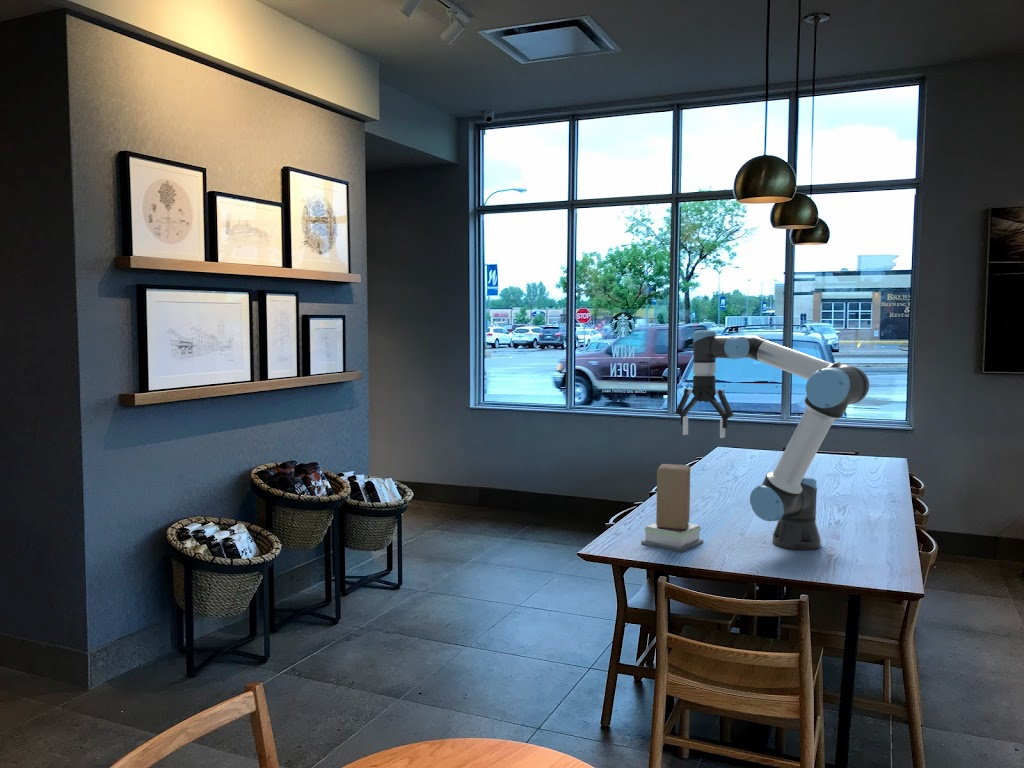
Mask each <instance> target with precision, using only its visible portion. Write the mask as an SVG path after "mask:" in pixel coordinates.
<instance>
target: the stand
mask: <svg viewBox="0 0 1024 768" xmlns="http://www.w3.org/2000/svg"><path fill="white" fill-rule="evenodd" d="M700 531H701V526H700V524H694V523H690V522H689V523H688V526H687V528H686V529H684V530H683V529H670V528H659V527H657V525H656V522H654V523H651V524H648V525H646V526H645V528H644V532H645V539H644V540H641V542H640V544H641V545H645V546H649V547H654V548H659V549H663V550H668V551H673V552H678V553H684V552H686V551H687V550H690V549H693V548H695V547H697V546H699V545H702V544H703V543H704V539H701V538H700Z"/></svg>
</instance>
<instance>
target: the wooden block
mask: <svg viewBox="0 0 1024 768" xmlns="http://www.w3.org/2000/svg"><path fill="white" fill-rule="evenodd" d="M690 496H691V467H690V465H688V464H676V463H675V464H672V463H661V464H660V465H659V467H658V468H657V470H656V520H655V521H656V522H655V523H656V525H657V527H659V528H670V529H683V530H684V529H686V528H687V526H688V523H690V511H691V510H690V509H691V508H690V506H691V505H690V504H691V503H690V501H691V500H690V499H691V497H690Z"/></svg>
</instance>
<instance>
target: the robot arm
mask: <svg viewBox="0 0 1024 768" xmlns="http://www.w3.org/2000/svg"><path fill="white" fill-rule="evenodd" d="M692 340H693V341H692V349H693V352H692V354H693V362H692V363H693V364H692V365H693V366H692V373H693V376H692V386H693V387H692V388H690V387H686V388H684V389H683V396H682V398H681V400H680V401H679V404H678V406H677V407H676V410H675V414H676V415H679V416H680V425H681V426H682V435H683V436H688V435H689V415H687V414H689V412H690V411H691V410H692V409H693V407H694V406H695V405H696V404H697V402H699V403H702V402H703V403H710V404H711V405H712V406H713V408H714V409H715V410H716V411H717V413H718V414H719V415H720V416H721V418H720V419H719V438H720V439H723V438H724V439H725V438H726V429H728V426H729V423H728V421H729V420H728V419H729V418H731V417H734V413H733V411H732V408H731V405H730V403H729V402H728V400H727V397H726V395H725V389H722V388H721V389H716V376H715V374H716V359H731V360H737V359H744V358H746V359H747V358H749V359H752V360H755V361H757V362H760V363H763V364H765V365H768V366H771V367H774V368H777V369H779V370H781V371H784V372H786V373H789V374H792V375H795V376H797V377H799V378H802V379H806V380H807V381H806V384H805V392H806V397H805V399H804V404H805V407H806V408H805V410H804V412H803V414H802V416H801V419H799V422H798V424H797V426H796V428H795V430H794V432H793V434H792V436H791V438H790V439H789V441H788V443H787V445H786V448H785V449H784V451H783V453H782V455H781V458H780V459H779V461H778V463H777V465H776V467H775V469H774V470H772V471H768V472H767V474H766V476H765V478H764V479H763V481H762V483H761V484H760V485H757V486H756V487H754V488H753V489H752V491H751V493H750V494H749V495H750V496H749V504H750V505H751V509H752V511H753V513H754V514H755V516H756V517H757V518H760V519H761V520H763V521H766V522H777V523H776V526H775V529H774V531H773V533H772V534H773V535H772V543H773V544H774V545H776V546H778V547H781V548H785V549H790V550H798V551H799V550H802V551H805V550H808V551H810V550H816V549H819V548H821V541H822V539H821V536H820V533H819V530H818V527H817V523H816V520H817V516H816V515H817V493H818V492H817V491H818V488H817V487H818V486H817V481H816V479H815V478H814V477H811V476H806V473H807V471H808V469H809V468H810V465H811V464H812V462H813V460H814V458H815V456H816V454H817V452H818V451H819V449H820V447H821V445H822V443H823V441H824V440H825V438H826V436H827V433H828V432H829V431H830V428H831V427H832V424H834V421H835V420H839V419H841V418H842V417H843V416H844V414H845V411H846V409H847V408H848V406H849V405H854V404H857V403H859V402H862V400H863V399H865V397H866V396H867V395H868V393H869V390H870V380H869V378H868V375H867V374H866V373H865V371H863V370H862V369H861V368H859V367H856V366H853V365H849V364H845V363H842V362H839V361H836V362H830V361H827V360H825V359H824V360H823V359H821V358H817V357H815V356H813V355H811V354H810V355H809V354H807V353H804V352H801V351H798V350H795V349H793V348H789V347H786V346H783V345H781V344H778V343H775V342H772V341H769V340H768V339H766V338H765V337H764V336H761V335H757V334H752V335H751V334H750V335H717V334H716V330H713V329H711V330H709V329H708V330H707V329H706V330H705V329H704V330H699V329H698V330H695V331H694V332H693V339H692ZM691 395H693V397H692V398H691V399H690V402H688V400H689V398H690V396H691ZM715 396H717V397H718V398H719V400H720V403H721V405H722V406H721V405H720V403H719V402H718V400H717V398H716V397H715ZM687 402H688V404H687ZM686 404H687V405H686Z"/></svg>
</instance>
